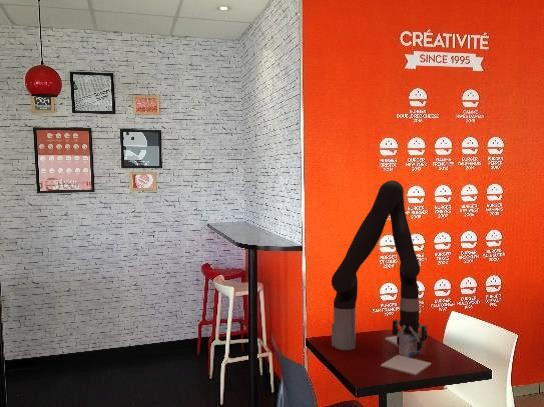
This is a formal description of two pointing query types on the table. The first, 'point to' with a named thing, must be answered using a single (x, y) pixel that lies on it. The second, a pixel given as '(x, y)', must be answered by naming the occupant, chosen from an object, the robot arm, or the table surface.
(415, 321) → the robot arm
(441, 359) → the table surface
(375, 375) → the table surface
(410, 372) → the mat
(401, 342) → the medicine box
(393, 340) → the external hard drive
